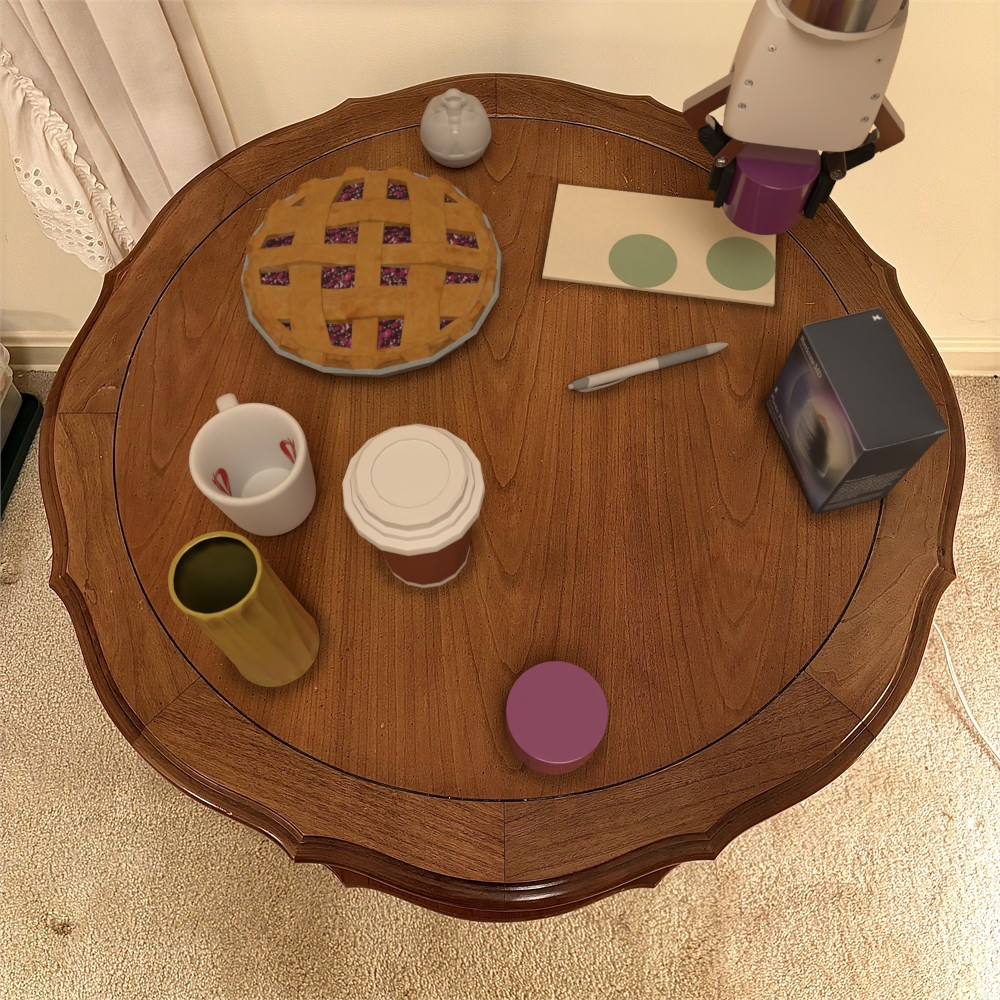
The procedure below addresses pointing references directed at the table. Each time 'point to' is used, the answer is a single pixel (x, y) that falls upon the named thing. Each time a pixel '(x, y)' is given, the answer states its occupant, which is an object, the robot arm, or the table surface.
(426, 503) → the coffee cup
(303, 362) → the pie
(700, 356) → the pen
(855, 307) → the table surface
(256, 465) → the cup
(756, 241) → the placemat
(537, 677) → the purple short cylinder
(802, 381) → the small box
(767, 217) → the purple cylinder puck
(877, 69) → the robot arm
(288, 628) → the vase
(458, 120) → the figurine
